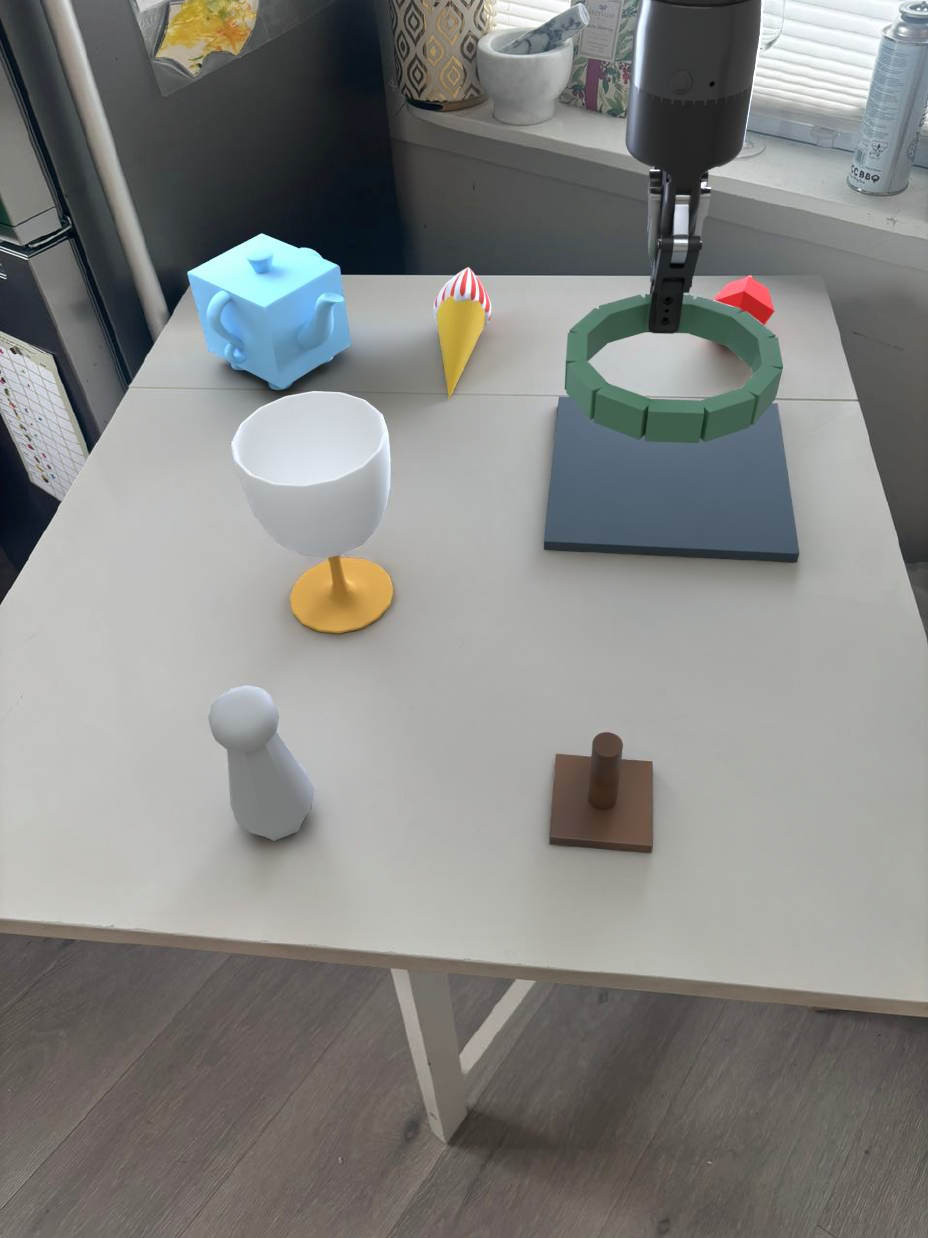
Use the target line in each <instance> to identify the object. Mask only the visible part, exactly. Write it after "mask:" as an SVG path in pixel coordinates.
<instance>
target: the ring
mask: <svg viewBox="0 0 928 1238" xmlns="http://www.w3.org/2000/svg"><path fill="white" fill-rule="evenodd" d="M650 303H651V294H650V293H645V294H644V296H643V295H642V294H636V295H632V296H630V297H626V298H622V299H619V300H615V301H612V302H608V303H604V304H601V305H598V307H594V308H592V310H590V311H589V312H588V313H587V314H586V315H585V316H584V317H582V318H581V319H579V321H578V322H577V323H575V324H574V326H572V327H571V328H570V329H569V332H567V338H566V353H565V367H564V368H565V369H564V370H565V371H564V391H565V393H566V395H567V397H570V398H571V399H572V400H573V401H574V402H575V403H576V405H577V406H578V407H579V408H580V409H581V410H582V411H583V412H584V414H585V415H586V416H587V417H588V418H589V419H590V420H591V419H594V423H597V424H599V425H602V426H604V427H607V428H610V429H612V430H615V431H617V432H620V433H622V434H625V435H628V436H630V437H633V438H635V439H638V440H640V439H641V438H642V437H643V436H644V435H645V441H649V442H677V443H699V441H700V438H701V439H702V440H703V441H704V442H707V441H710V440H713V439H716V438H719V437H723V436H726V435H729V434H732V433H735V432H738V431H741V430H744V429H747V428H749V427H750V424H751V425H754V424H755V422H756V421H757V420H758V419H759V418H760V416H761V415H762V414H763V413H764V412H765V411H766V409H767V408H768V407H769V406H770V405H771V404H772V403H774V402H775V400H776V399H777V395H778V391H779V387H780V382H781V379H782V375H783V374H782V373H783V370H784V363H783V358H782V353H781V347H780V342H779V338H778V337H776V334H775V333H774V332H773V331H771V330H770V329H769V328H768V327H767V326H766V325H763V324H762V323H760V322H759V321H758V320H757V319H756V318H754V317H753V316H752V315H751V314H749V313H748V312H747V311H745V312H742V309H740V308H737V307H734V306H730V305H727V304H724V303H721V302H717V301H714V300H712V299H711V298H707V297H705V296H701V295H697V296H696V297H694V294H684V295H683V303H682V310H681V318H680V325H679V330H678V331H677V332H676V333H675V334H689V335H690V336H691V335H692V336H695V337H698V338H700V339H703V340H707V341H710V342H713V343H716V344H718V345H722V346H725V347H726V348H728V349H729V350H730V351H731V352H732V353H733V354H735V355H736V356H737V358H739V359H740V360H742V361H743V362H744V363H745V364H746V365H747V366H748V367H749V368H751V376H750V377H749V378H748V379H747V381H746V382H745V383H744V384H743V385H742V386H741V387H738V388H736V389H732V390H729V391H726V392H723V393H719V394H716V395H713V396H710V397H707V398H704V399H701V400H699V399H670V398H669V399H666V398H650V397H647V396H644V395H641V394H639V393H636V392H633V391H631V390H628V389H625V388H622V387H619V386H618V385H614V384H612V383H609V381H607V380H606V379H605V377H603V375H601V374H600V373H599V372H598V370H597V369H595V367H594V366H593V365H592V364H591V363H590V362H589V361H591V359H592V358H593V357H595V356H596V355H597V354H598V353H599V352H600V351H601V350H602V349H603V348H604V347H606V346H607V345H608V344H611V343H613V342H618V341H620V340H624V339H627V338H630V337H634V336H637V335H641V334H645V333H651V332H650V331H649V326H648V322H649V313H650Z"/></svg>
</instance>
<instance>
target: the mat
mask: <svg viewBox="0 0 928 1238" xmlns="http://www.w3.org/2000/svg"><path fill="white" fill-rule="evenodd" d="M779 409H780V408H779V404H778V402H776V403H775V402H772V404H771V405H770V406H769V407H768V408H767V409H766V411H765V412H764V413H763V414H762V415H761V416H760V418H759V419H758V420H757V421H756V422H755V424H754V425H751V424H750V427H749V428H747V429H744V430H741V431H738V432H735V433H732V434H729V435H726V436H723V437H719V438H716V439H713V440H710V441H707V442H704V441H703V440H702V439H701V438H700V441H699V443H677V442H649V441H645V435H644V436H643V437H642V438H641V439H640V440H638V439H635V438H633V437H630V436H628V435H625V434H622V433H620V432H617V431H615V430H612V429H610V428H607V427H604V426H602V425H599V424H597V423H594V419H591V420H590V419H589V418H588V417H587V416H586V415H585V414H584V412H583V411H582V410H581V409H580V408H579V407H578V406H577V405H576V403H575V402H574V401H573V400H572V399H571V398H570V397H569V396H563V395H562V396H558V401H557V412H556V420H555V421H556V422H555V429H554V430H555V431H554V432H555V433H554V441H553V451H552V459H551V469H550V478H549V488H548V498H547V505H546V506H547V507H546V517H545V525H544V536H543V550H547V551H570V552H587V553H588V552H589V553H591V552H592V553H608V554H630V555H647V556H648V555H650V556H668V557H669V556H670V557H690V558H708V559H709V558H710V559H727V560H729V559H730V560H748V561H768V562H769V561H771V562H786V563H787V562H788V563H798V560H799V557H800V549H799V543H798V542H799V541H798V535H797V528H796V521H795V513H794V507H793V499H792V493H791V486H790V480H789V474H788V473H789V472H788V466H787V459H786V458H787V457H786V451H785V445H784V444H785V443H784V438H783V429H782V424H781V417H780V410H779Z"/></svg>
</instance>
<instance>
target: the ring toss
mask: <svg viewBox="0 0 928 1238" xmlns="http://www.w3.org/2000/svg"><path fill="white" fill-rule="evenodd" d="M591 743H592V745H591V755H584V754H583V755H582V754H567V753H555V760H554V774H553V784H552V785H553V787H552V798H551V799H552V800H551V813H550V826H549V838H548V839H549V840H548V842H549V845H554V846H555V845H556V846H565V847H578V848H579V847H580V848H591V849H602V850H612V851H613V850H614V851H624V852H625V851H626V852H637V853H649V854H652V853H653V847H654V844H653V843H654V819H653V818H654V810H653V809H654V804H653V803H654V797H653V795H654V793H653V792H654V783H653V782H654V781H653V780H654V775H653V774H654V773H653V770H654V769H653V767H654V766H653V763H654V762H653V760H647V759H636V758H635V759H634V758H623V749H624V743H623V740H622V739H621V737H620V736H619V735H618V734H616V733H613V732H611V731H603V732H599V733H598V734H596V735H595V736H594V737H593V740H592V742H591Z"/></svg>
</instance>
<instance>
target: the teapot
mask: <svg viewBox="0 0 928 1238" xmlns="http://www.w3.org/2000/svg"><path fill="white" fill-rule="evenodd" d="M186 275H187V278H188V281H189V285H190V289H191V292H192V295H193V299H194V304H195V307H196V310H197V314H198V318H199V322H200V325H201V329H202V332H203V336H204V339H205V343H206V347H207V350H208V352H210V353H212V354H214V355H216V356H218V357H219V358H221V359H222V360H223V359H224V360H225V361H227V362H229V363H230V364H231V365H230V366H231V368H232V369H233V370H236V371H247V372H249V373H251V374H252V375H254V376H256V377H259V378H260V379H262V380H264V381H266V382H268V387H269V388H270V389H271V390H275V391H283V390H285V389H288V388H290V387H291V386H292V384H293V383H294V382H296V381H297V380H299V379H300V378H301V377H303V376H304V375H307V374H308V373H309V372H311V371H312V370H314V369H316V368H318V367H319V366H320V365H322V364H326V363H329V362H331V361H332V360H333V359H334V356H336V355H338V354H339V353H341V352H343V351H344V350H346V349H348V348H349V347H351V346H352V339H351V333H350V327H349V326H350V325H349V318H348V312H347V307H346V300H345V293H344V287H343V279H342V273H341V266H339V265H338V264H336V263H333V262H332V261H329V260H327V259H324V258H323V257H322V255H320V253H318V252H317V251H316V250H314V249H312V248H309V247H300V248H298V247H296V246H294V245H292V244H288V243H286V242H284V241H281V240H279V239H277V238H274V237H271V236H269V235H266V234H264V233H260V234H258V235H256V236H254V237H252V238H251V239H248V240H247V241H244V242H243V243H241V244H238V245H237V246H234V247H233V248H231V249H229V250H227V251H225V252H223V253H222V254H219V255H218V256H216V257H214V258H212V259H210V260H209V261H207V262H205V263H202V264H200V265H199V266H197V267H195V268H193V269H191V270H189V271H187V273H186Z"/></svg>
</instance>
